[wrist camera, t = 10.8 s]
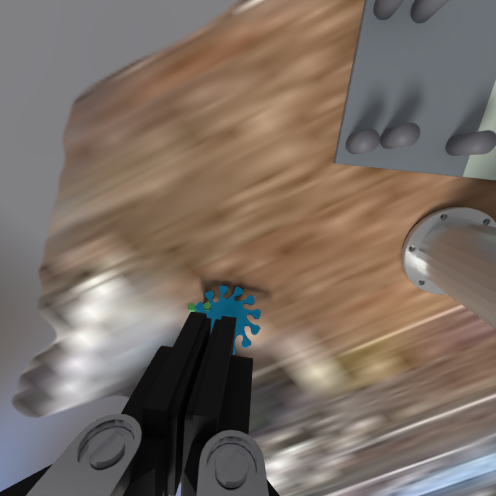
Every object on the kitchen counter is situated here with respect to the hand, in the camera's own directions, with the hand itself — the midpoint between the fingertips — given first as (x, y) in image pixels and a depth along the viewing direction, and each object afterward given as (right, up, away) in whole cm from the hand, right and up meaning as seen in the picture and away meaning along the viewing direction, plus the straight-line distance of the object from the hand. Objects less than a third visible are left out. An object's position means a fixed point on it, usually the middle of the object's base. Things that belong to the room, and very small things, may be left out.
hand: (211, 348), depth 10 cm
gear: (-2, -5, +33) cm, 33 cm away
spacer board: (+30, +21, +22) cm, 43 cm away
